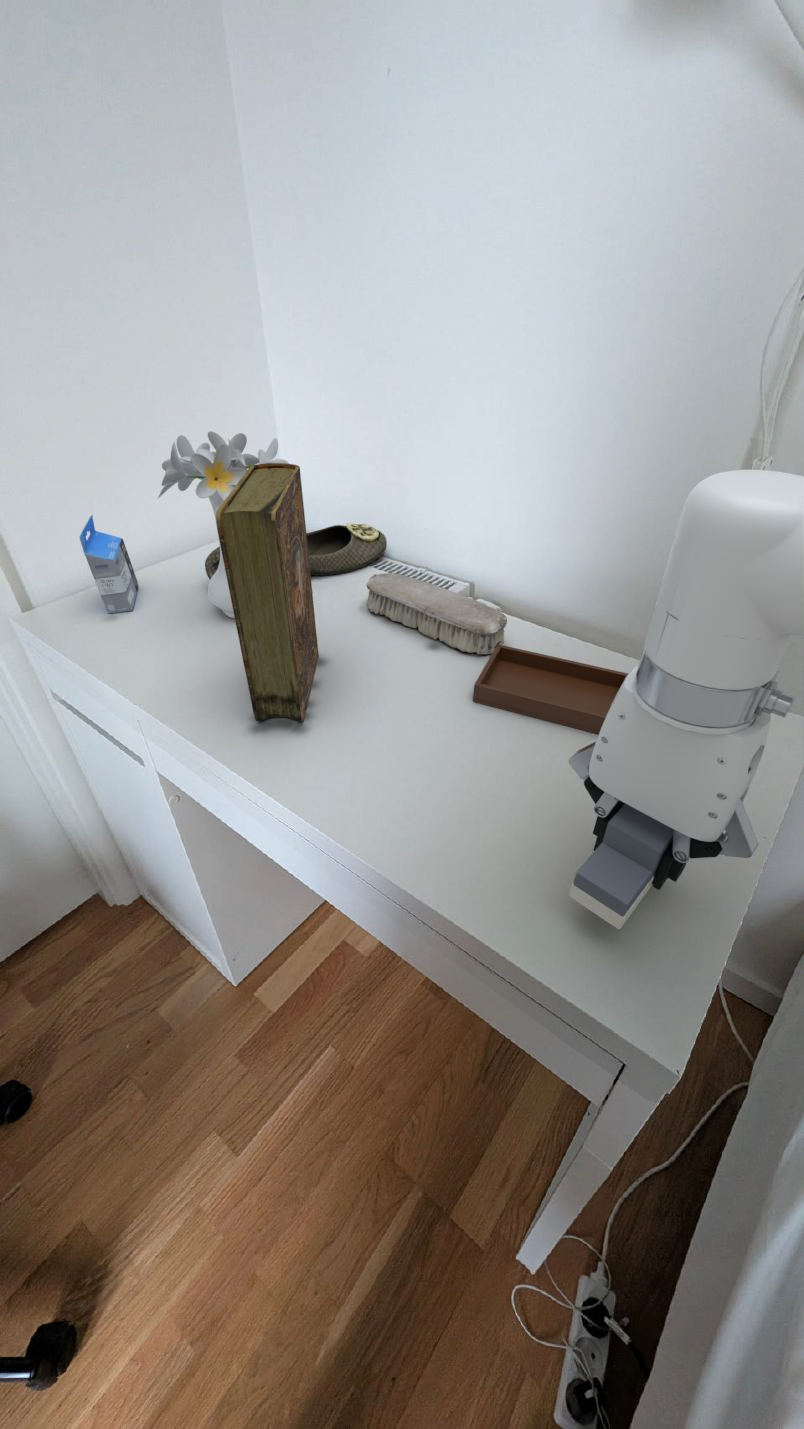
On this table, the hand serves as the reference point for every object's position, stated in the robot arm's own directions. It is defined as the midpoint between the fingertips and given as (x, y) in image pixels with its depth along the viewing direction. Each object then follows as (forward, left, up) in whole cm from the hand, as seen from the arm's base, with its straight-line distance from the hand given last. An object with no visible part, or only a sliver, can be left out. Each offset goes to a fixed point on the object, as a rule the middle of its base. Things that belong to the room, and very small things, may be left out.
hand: (633, 858), depth 48 cm
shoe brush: (+32, -36, -4) cm, 48 cm away
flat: (+60, -45, -4) cm, 75 cm away
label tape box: (+80, -23, -4) cm, 83 cm away
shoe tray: (+12, -26, -4) cm, 29 cm away
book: (+43, -14, -4) cm, 45 cm away
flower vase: (+61, -29, -4) cm, 68 cm away
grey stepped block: (0, +1, -1) cm, 1 cm away
